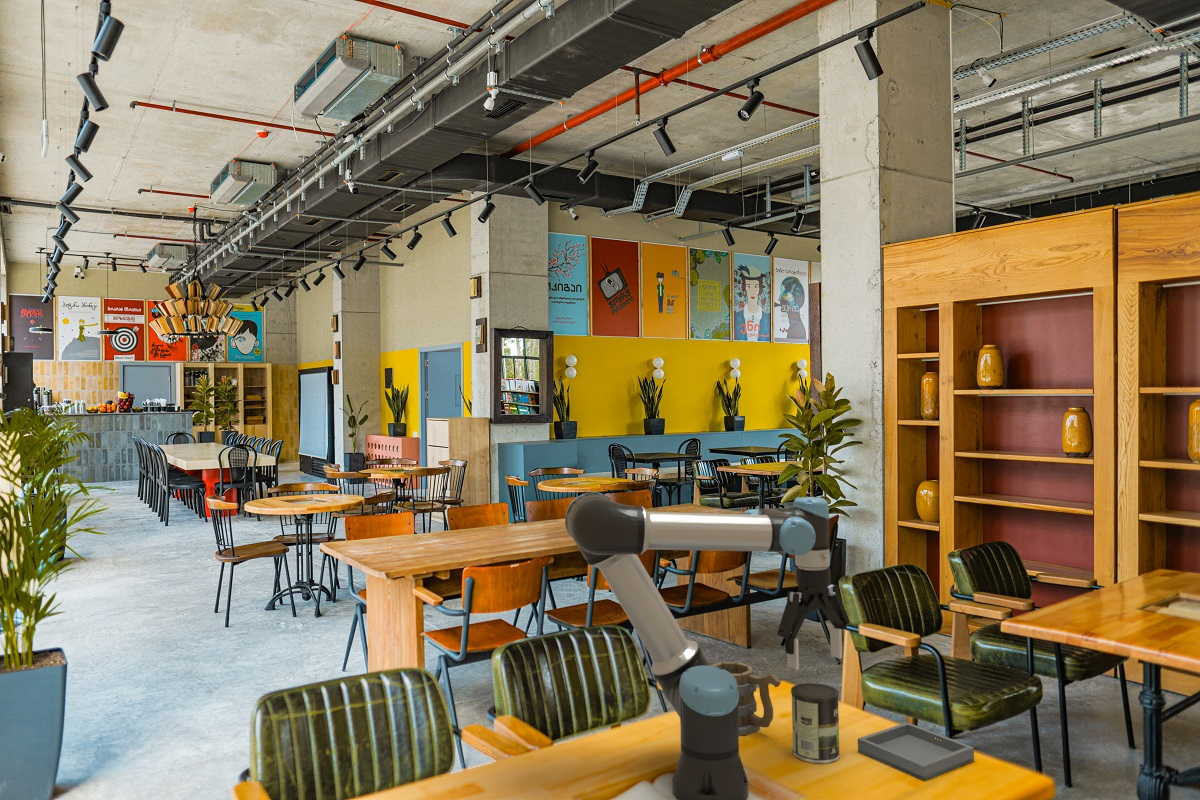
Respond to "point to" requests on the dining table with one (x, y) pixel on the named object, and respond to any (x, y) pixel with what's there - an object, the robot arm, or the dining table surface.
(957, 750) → the tray
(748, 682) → the tankard
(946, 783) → the dining table surface
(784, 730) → the dining table surface
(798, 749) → the coffee can
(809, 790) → the dining table surface
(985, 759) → the dining table surface
